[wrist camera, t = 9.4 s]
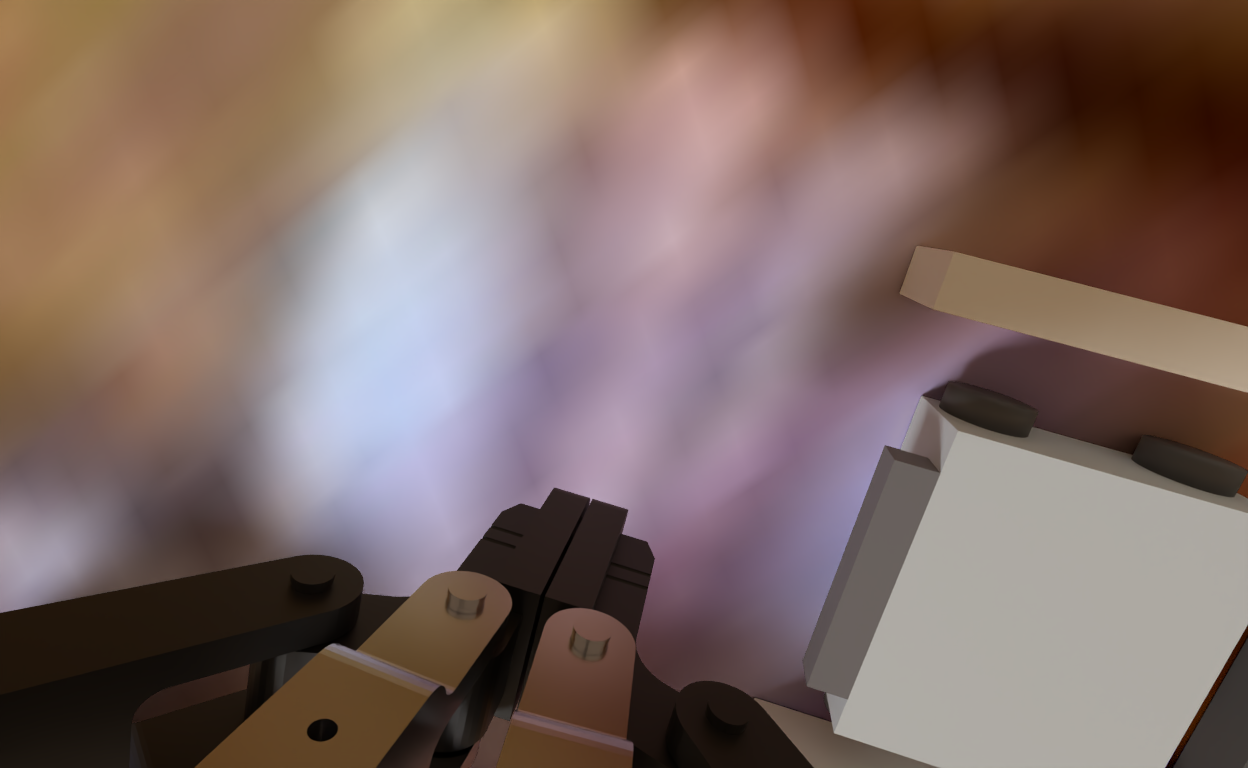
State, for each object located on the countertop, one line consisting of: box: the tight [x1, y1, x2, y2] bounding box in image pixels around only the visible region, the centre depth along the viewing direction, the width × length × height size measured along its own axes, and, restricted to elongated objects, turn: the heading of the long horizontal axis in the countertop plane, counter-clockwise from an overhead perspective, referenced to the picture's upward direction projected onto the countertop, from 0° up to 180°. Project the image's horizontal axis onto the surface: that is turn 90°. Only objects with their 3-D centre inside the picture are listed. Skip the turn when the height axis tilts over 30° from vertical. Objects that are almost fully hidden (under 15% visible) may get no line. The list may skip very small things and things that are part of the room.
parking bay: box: [754, 246, 1248, 768], centre depth 17 cm, size 15×13×3 cm
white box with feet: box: [803, 381, 1248, 768], centre depth 17 cm, size 9×8×3 cm
